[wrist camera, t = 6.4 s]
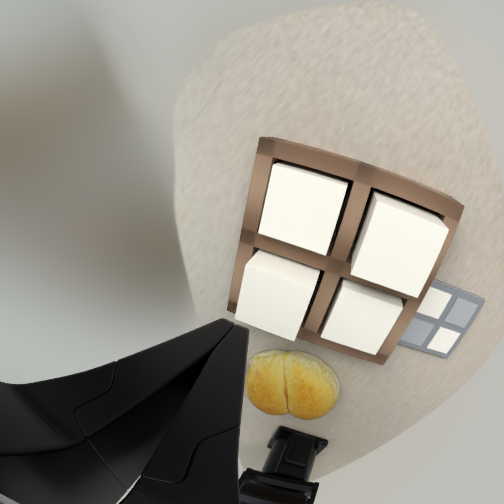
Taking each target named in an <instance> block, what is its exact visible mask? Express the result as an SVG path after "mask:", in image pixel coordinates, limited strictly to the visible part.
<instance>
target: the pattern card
mask: <svg viewBox="0 0 504 504" xmlns="http://www.w3.org/2000/svg"><path fill="white" fill-rule="evenodd" d="M484 302H485V300H484V298H481V297H479V296H476V295H474V294H472V293H469V292H467V291H464V290H462V289H459V288H456V287H454V286H451V285H449V284H446V283H444V282H441V281H439V280H436V279H434V280H433V282H432V284H431V286H430V288H429V290H428V291H427V293H426V295H425V297H424V299H423V301H422V303H421V305H420V306H419V308H418V310H417V312H416V313H415V315H414V317H413V319H412V320H411V322H410V324H409V325H408V327H407V329H406V330H405V332H404V334H403V335H402V337H401V338H400V340H399V342H398V343H397V344H401V345H404V346H407V347H410V348H414V349H417V350H420V351H424V352H427V353H430V354H434V355H437V356H441V357H444V358H448V357H449V356H450V354H451V353H452V352H453V350H454V349H455V347H456V346H457V345H458V343H459V342H460V340H461V339H462V337H463V336H464V334H465V333H466V331H467V330H468V328H469V327H470V325H471V324H472V322H473V321H474V319H475V317H476V316H477V314H478V312H479V311H480V309H481V307H482V306H483V304H484Z"/></svg>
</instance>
